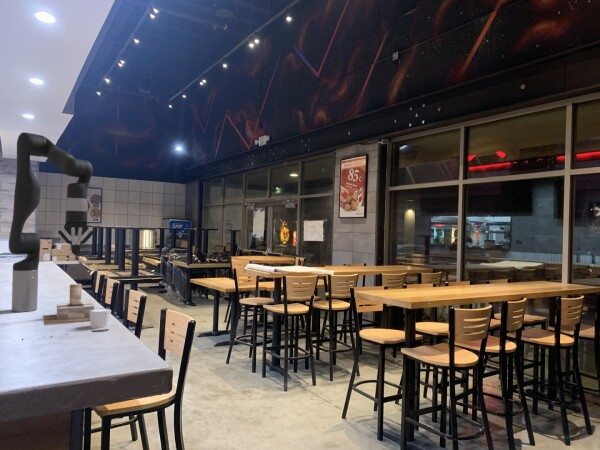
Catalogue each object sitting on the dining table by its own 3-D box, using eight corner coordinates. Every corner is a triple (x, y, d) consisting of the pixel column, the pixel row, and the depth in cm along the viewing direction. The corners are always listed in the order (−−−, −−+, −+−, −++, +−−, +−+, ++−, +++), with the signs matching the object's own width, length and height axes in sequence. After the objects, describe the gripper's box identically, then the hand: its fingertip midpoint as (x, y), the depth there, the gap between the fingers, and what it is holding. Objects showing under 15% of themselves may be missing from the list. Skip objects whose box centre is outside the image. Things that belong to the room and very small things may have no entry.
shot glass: (114, 328, 152) (115, 308, 152) (103, 333, 145) (104, 312, 145) (96, 327, 152) (96, 308, 152) (84, 332, 146) (85, 311, 146)
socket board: (43, 319, 165) (43, 305, 165) (91, 315, 174) (92, 301, 174) (44, 329, 148) (44, 313, 148) (97, 324, 157) (98, 309, 157)
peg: (68, 315, 166) (69, 284, 167) (80, 314, 169) (81, 283, 169) (69, 317, 163) (70, 285, 163) (81, 316, 165) (82, 284, 165)
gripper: (94, 211, 173) (93, 254, 173) (56, 209, 166) (55, 254, 166) (96, 210, 167) (95, 255, 167) (57, 209, 160) (56, 255, 160)
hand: (75, 254), depth 166 cm, fingers closed
